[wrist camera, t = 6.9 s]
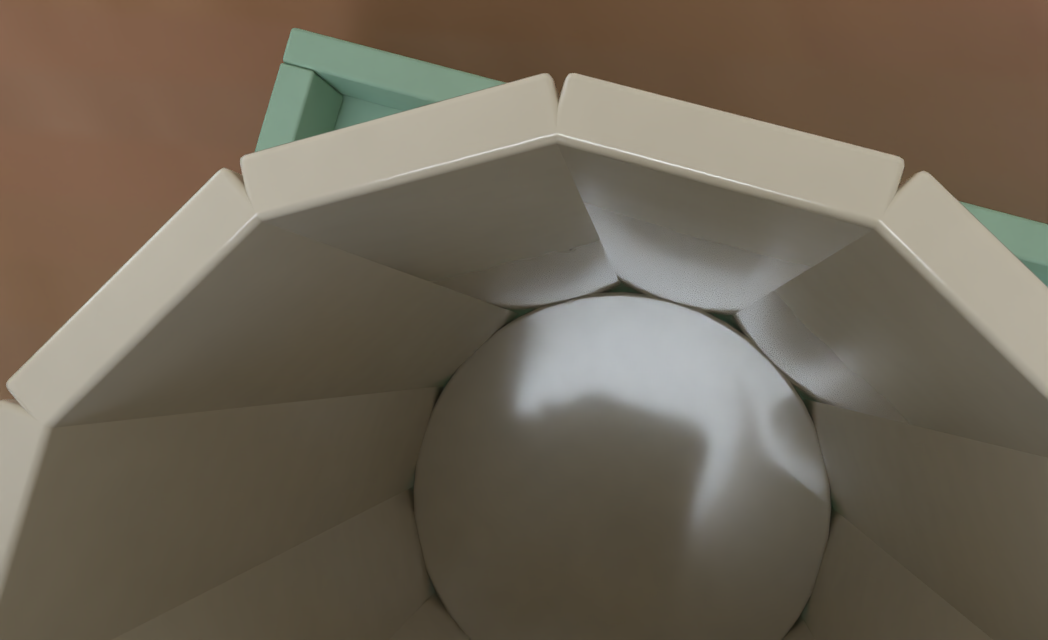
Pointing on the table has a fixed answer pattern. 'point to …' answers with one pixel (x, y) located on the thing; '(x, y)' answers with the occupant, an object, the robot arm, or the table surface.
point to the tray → (405, 83)
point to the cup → (542, 395)
